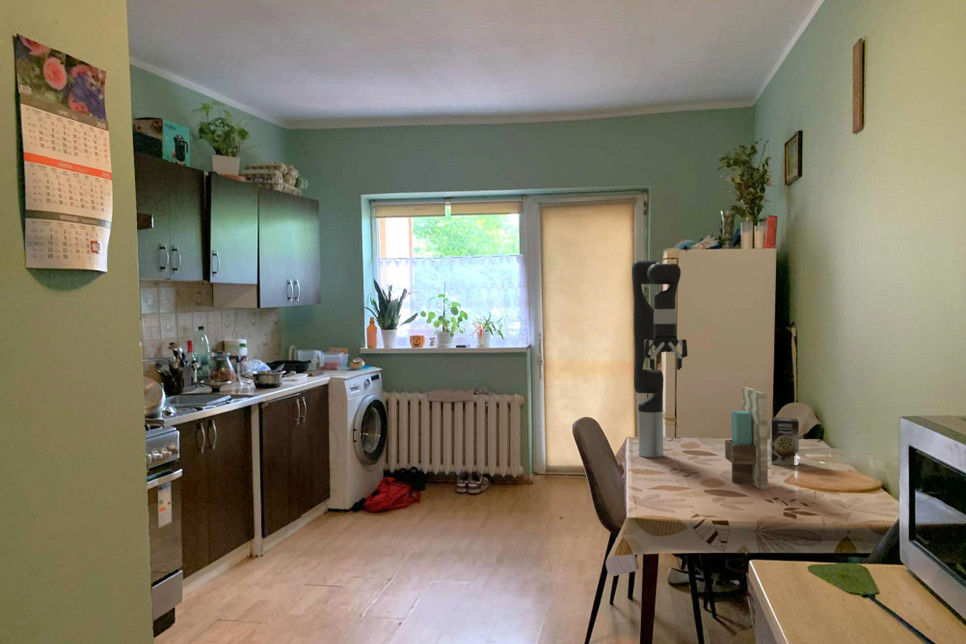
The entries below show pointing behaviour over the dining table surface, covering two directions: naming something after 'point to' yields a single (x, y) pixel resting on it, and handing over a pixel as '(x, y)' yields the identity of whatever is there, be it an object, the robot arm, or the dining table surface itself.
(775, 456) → the coffee box
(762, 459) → the ledge stand with backboard
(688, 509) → the dining table surface
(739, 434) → the chunky teal box
